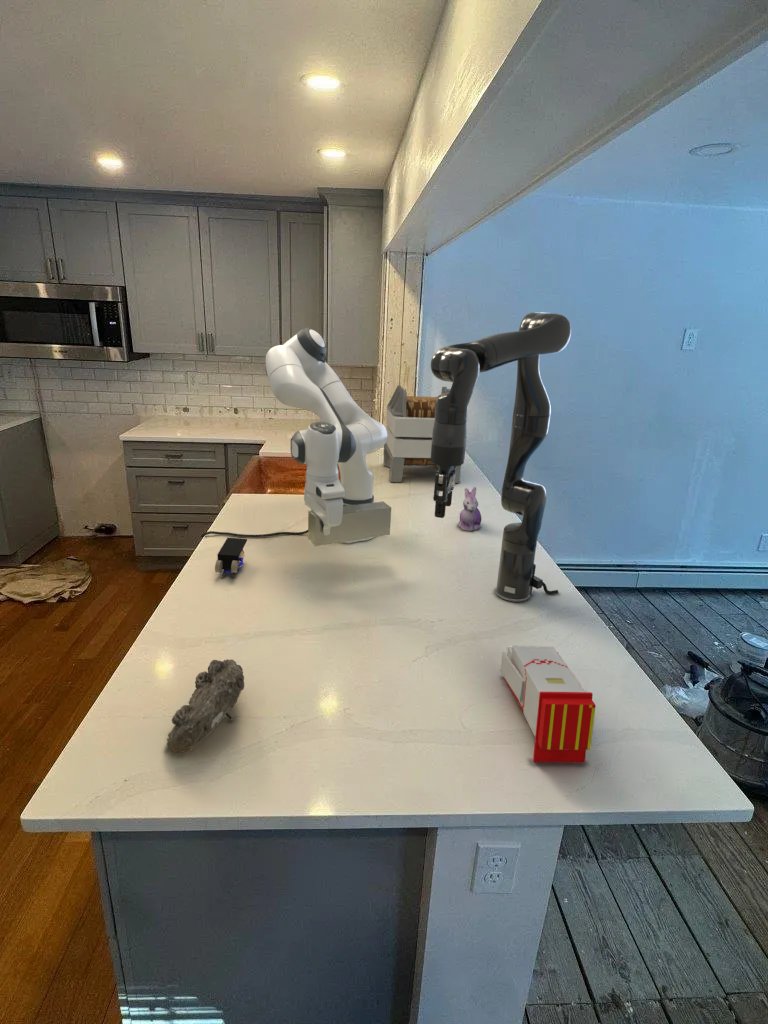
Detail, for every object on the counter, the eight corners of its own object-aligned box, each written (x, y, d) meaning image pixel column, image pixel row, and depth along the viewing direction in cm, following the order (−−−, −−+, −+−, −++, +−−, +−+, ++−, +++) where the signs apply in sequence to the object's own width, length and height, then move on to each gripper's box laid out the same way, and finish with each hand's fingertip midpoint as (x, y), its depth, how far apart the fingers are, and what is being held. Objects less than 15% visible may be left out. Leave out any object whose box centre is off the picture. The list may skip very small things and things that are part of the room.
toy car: (238, 584, 162) (249, 557, 175) (236, 562, 158) (247, 536, 172) (215, 584, 161) (227, 556, 175) (212, 561, 158) (225, 535, 171)
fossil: (192, 660, 117) (244, 628, 112) (224, 691, 120) (276, 661, 115) (142, 746, 98) (202, 712, 93) (182, 779, 101) (242, 748, 96)
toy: (549, 628, 125) (605, 700, 96) (544, 683, 128) (596, 770, 99) (495, 627, 125) (534, 699, 95) (491, 683, 128) (527, 769, 98)
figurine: (467, 533, 203) (471, 493, 198) (451, 523, 211) (454, 485, 206) (488, 529, 207) (492, 490, 202) (471, 520, 215) (475, 482, 210)
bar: (314, 546, 157) (315, 517, 154) (308, 539, 162) (308, 510, 159) (389, 534, 167) (391, 507, 164) (381, 528, 172) (382, 501, 169)
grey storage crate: (382, 463, 289) (386, 382, 275) (445, 464, 293) (451, 384, 279) (390, 482, 257) (394, 392, 243) (460, 483, 261) (468, 394, 247)
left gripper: (298, 473, 162) (298, 518, 167) (324, 495, 145) (324, 545, 150) (319, 471, 165) (318, 516, 169) (347, 493, 148) (346, 541, 152)
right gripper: (460, 450, 117) (454, 523, 123) (470, 437, 130) (463, 503, 136) (425, 447, 119) (420, 519, 125) (438, 434, 132) (433, 500, 138)
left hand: (321, 529), depth 159 cm, fingers closed on bar, 5 cm apart
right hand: (443, 511), depth 130 cm, fingers open, 8 cm apart
